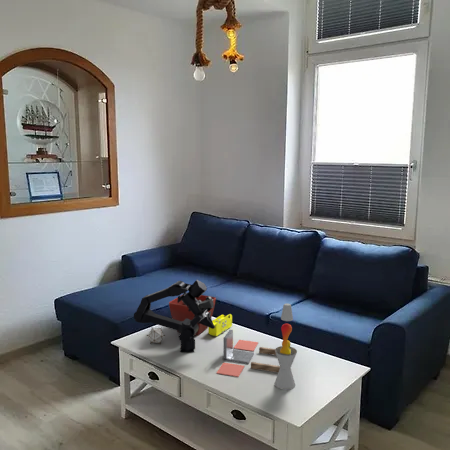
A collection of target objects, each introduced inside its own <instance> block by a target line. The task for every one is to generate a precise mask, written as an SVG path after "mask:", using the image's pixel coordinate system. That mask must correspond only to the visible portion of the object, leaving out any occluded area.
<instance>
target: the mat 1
mask: <svg viewBox="0 0 450 450" xmlns="http://www.w3.org/2000/svg"><path fill="white" fill-rule="evenodd" d="M244 368H245V365H242V364H235V363H229V362H223V363H221V365H220V367H219V369H218V370H217V371H216V372H215V373H216V374H217V375H222V376H223V375H224V376H231V377H235V378H239V377H240V375H241V373H242V372H243V370H244Z"/></svg>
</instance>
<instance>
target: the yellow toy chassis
mask: <svg viewBox="0 0 450 450" xmlns="http://www.w3.org/2000/svg"><path fill="white" fill-rule="evenodd" d="M212 322H213V324H214V326H215V328H214V329H212V328H209V327H208V328H207V331H208V332H207V333H208V335H210V336H214V337H218V336H219V335H221V334H224V333H225V332H228V331H227V330H228V329H230V328H231V327H233V315H232V314H231V313H229V314H227V315H224V314H221V315H219V316H217V317H216V318H214V319H212Z"/></svg>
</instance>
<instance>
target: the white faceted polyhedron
mask: <svg viewBox="0 0 450 450" xmlns="http://www.w3.org/2000/svg"><path fill="white" fill-rule="evenodd" d="M162 327H163V326H161V327H159V328H157V327H155V328H154V327H153V326H151V329H150V331H149V333H148V334H146V336H147V337H148V338H149V341H150V344H153V343H155V344H159V345H161V342H162V340H163V338H164V337H166V334H164V333H163V330H162Z"/></svg>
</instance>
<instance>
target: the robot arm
mask: <svg viewBox="0 0 450 450" xmlns="http://www.w3.org/2000/svg"><path fill="white" fill-rule="evenodd" d="M207 290H208V287H207V286H206V284H205V282H202V281H200V280H199V279H196V280H194V282H193V283H192V284H190V283H186V282H184V281H183V280H178V281H176V282H175V283H173V284H171V285H170V286H168V287H166V288H163V289H161V290H158V291H156V292H152V293H150V294H147V295H145V296H144V297H142V298H141V300H140V303H139V305H138V307H137V309H136V311H135V312H134V313H133V319H134V321H135V322H136V323H140V324H148V323H149V324H151V323H152V324H154V325H158V326H161V327H165V328H168V329H171V330H175V331H176V332H177V331H179V332H178V333H179V335H178V340H179V341H180V351H179V352H180V353H195V350H196V339H195V336H196V335H195V334H196V332H197V331H198V329H199V326H198V324H202V325H205V326H207V327H209V328H212V329H214V328H215V326H214V324H213V322H212V320H213V319H212V317H210V314H211V311H210V310H211V309H212V308H213V307H214V308H215V306H213V305H214V303H213V301H214V300H213V299H212V298H211V297H212V296H210V295H209V296H208V295H207V296H208V297H207V298H206V300H205V301H203V302H202V301H201V300H199V301H198V300H196V297H197V298H199V297H200V296H201V295H204V293H206V291H207ZM182 294H183V295H182ZM181 295H182V296H181ZM167 297H168V298H169V297H178V301H177V302H178V303H179V302H180V301H181V300H182V301H183V303H184V304H185V305H186V306H187V307H188V306H189V307H188V308H189V310H188V311H189V312H190V311H191V312H192V313H193V314H194V315H195V316H194V318H193V319H192V320H190V319H187V318H186V319H185V320H184V321H178V320H175V319H172V317H167V316H164V315H161V314H158V313H155V312H154V311H153V310H151V307H152V303H154V302H157V301H160V300H162V299H165V298H167ZM208 311H210V312H208ZM197 323H198V324H197Z"/></svg>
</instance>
